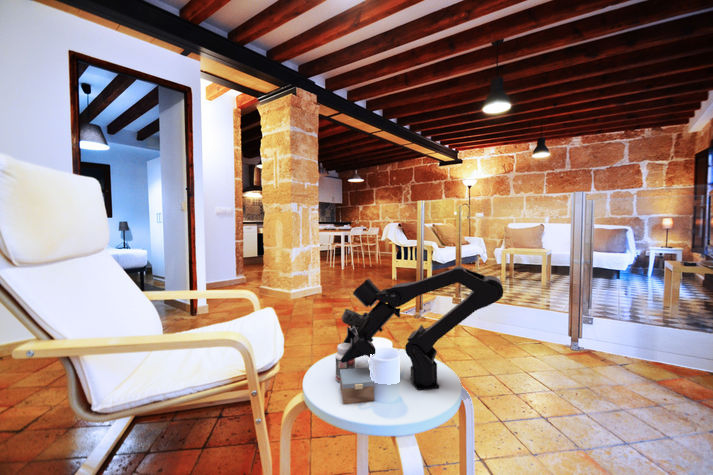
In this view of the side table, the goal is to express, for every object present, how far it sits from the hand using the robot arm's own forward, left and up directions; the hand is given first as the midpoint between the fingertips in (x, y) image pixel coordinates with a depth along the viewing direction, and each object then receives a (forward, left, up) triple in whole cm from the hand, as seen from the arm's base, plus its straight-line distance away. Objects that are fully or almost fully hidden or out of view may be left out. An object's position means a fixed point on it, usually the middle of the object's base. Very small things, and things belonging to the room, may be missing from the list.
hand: (340, 357), depth 89 cm
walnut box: (-3, +9, -7) cm, 11 cm away
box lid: (-3, +9, -3) cm, 10 cm away
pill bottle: (-1, 0, -7) cm, 7 cm away
